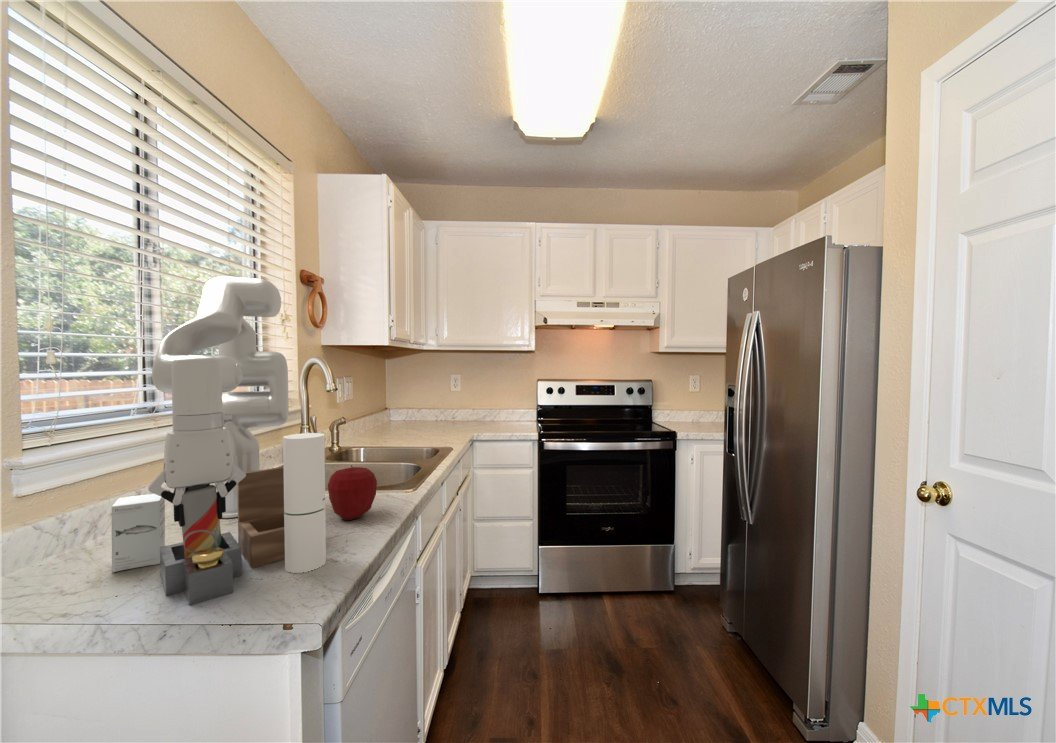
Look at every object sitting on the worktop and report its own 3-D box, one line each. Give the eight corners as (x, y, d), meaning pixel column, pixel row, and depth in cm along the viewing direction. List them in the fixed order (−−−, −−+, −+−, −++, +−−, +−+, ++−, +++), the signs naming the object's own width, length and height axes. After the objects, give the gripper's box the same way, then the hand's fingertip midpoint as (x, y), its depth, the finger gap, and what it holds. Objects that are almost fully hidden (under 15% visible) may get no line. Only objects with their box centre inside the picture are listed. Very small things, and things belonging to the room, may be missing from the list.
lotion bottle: (204, 577, 82) (192, 468, 80) (178, 575, 83) (166, 467, 81) (231, 561, 87) (220, 459, 86) (206, 560, 88) (196, 459, 87)
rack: (238, 549, 96) (237, 473, 95) (295, 535, 103) (294, 465, 103) (251, 568, 87) (250, 484, 86) (312, 551, 94) (311, 474, 94)
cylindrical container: (330, 555, 92) (328, 432, 92) (320, 571, 85) (318, 438, 85) (292, 558, 91) (290, 433, 90) (279, 574, 84) (277, 439, 83)
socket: (160, 573, 84) (159, 547, 84) (230, 556, 92) (229, 532, 92) (169, 611, 71) (169, 579, 71) (249, 587, 79) (249, 558, 79)
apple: (366, 525, 109) (366, 470, 109) (318, 525, 109) (318, 470, 109) (383, 509, 121) (383, 459, 121) (340, 509, 121) (339, 459, 121)
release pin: (191, 586, 78) (190, 552, 77) (221, 577, 81) (221, 545, 80) (194, 595, 74) (193, 560, 74) (226, 586, 77) (225, 552, 77)
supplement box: (110, 574, 85) (109, 506, 84) (119, 559, 91) (118, 496, 91) (161, 564, 88) (159, 499, 88) (166, 551, 95) (165, 491, 95)
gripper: (247, 417, 92) (248, 505, 93) (136, 425, 81) (139, 526, 81) (255, 420, 87) (257, 515, 87) (138, 430, 75) (141, 539, 76)
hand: (200, 519), depth 84 cm, fingers closed on lotion bottle, 5 cm apart
